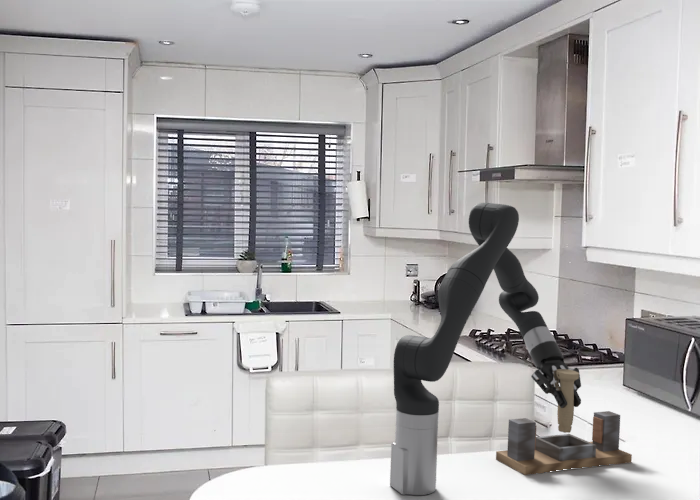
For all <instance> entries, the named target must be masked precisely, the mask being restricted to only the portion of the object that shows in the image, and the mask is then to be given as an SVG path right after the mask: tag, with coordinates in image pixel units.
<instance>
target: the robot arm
mask: <svg viewBox="0 0 700 500" xmlns="http://www.w3.org/2000/svg"><path fill="white" fill-rule="evenodd" d="M519 222H520V215H519V212H518V209H516V207H514V206H512V205H508V204H502V203H501V204H500V203H492V202H477V203H476V204H475V205H473V206H472V208H471V210H470V213H469V215H468V228H469V231H470V233H471V236H472V237H473V239H474V240H475V242H476V244H477V245H478V247H477V248H475V249H473V250H471V251H470V252H468V253H467V254H465V255H463V256H462V257H460V258H459V259H457V260H456V261H455V262H454V263H453V264H452V265H450V267H449V268H448V270H447V272H446V274H445V276H444V277H443V279H442V281H441V283H440V285H439V287H438V290H437V291H438V293H437V299H438V304H439V311H440V318H441V319H440V322H439V325H438V328H437V329H436V331H435V333H434V335H433V336H432V337H425V336H419V335H413V334H412V335H410V334H408V335H404V336H402V337H401V338H400V339H399V340H398V341H397V343H396V346H395V349H394V354H393V395H394V400H395V406H396V409H395V411H396V412H395V431H394V432H395V433H394V434H395V436H394V437H395V438H394V442H391V446H390V473H389V474H390V475H389V476H390V477H389V486H390V487H392V489H394V490H395V491H397V492H398V493H400V494H401V495H412V496H424V495H430V494H432V493H434V492H435V491H436V490H437V489H436V488H437V465H438V464H437V463H438V461H437V460H438V439H439V436H438V435H439V411H440V402H439V401H440V400H439V398H438V397H437V396H436V395H435V394H433V393H432V392H430V391H429V390H428V389H427V388H426V387H425V385H424V384H423V381H424V382H429V383H431V382H432V383H433V382H438V381H439V380H441V378H443V376H444V375H445V373H446V372H447V369H448V368H449V365H450V364H451V361H452V358H453V356H454V353H455V350H456V348H457V345H458V342H459V341H460V338H461V335H462V332H463V330H464V328H465V326H466V323H467V322H468V320H469V318H470V316H471V314H472V311H473V310H474V309H475V306H476V305H477V303H478V301H479V299H480V297H481V295H482V293H483V292H484V288H485V287H486V284H487V282H488V280H489V278H490V277H491V275H492V272H493V271H494V273H495V276H496V278H497V282H498V284H499V286H500V288H501V289H502V292H501V293H499V295H498V304H499V307H500V308H501V310H502V311H504V314H506V315H507V316H508V317H509V318H510V319H511V320H512V322H513V323H514V324H515V325H516V328H517V329H518V330H519V332H520V335H521V337H522V339H523V341H524V345H525V347H526V350H527V352H528V354H529V356H530V358H531V360H532V362H533V364H534V366H535V368H536V369H535V371H534V372H533V373H532V374H531V375H530V376H531V378H532V380H533V381H534V382H535V383H536V384H537V385H538V387H540V389H541V390H542V392H543V393H545V394H546V395H548V394H551V395H552V396H553V397H554V399H555V402H556V403H557V406H558V405H559V406H560V407H561V408H565V407H566V405H567V401H566V399H565V397H564V395H563V393H562V391H560V379H559V378H558V377H557V375H556V370H557V369H569V370H573V371H576V372H578V373H579V378H578V379H577V380H575V381H574V408H578V407H579V406H580V405H581V403H582V399H581V397H580V394H579V393H578V390H580V388H581V387H582V382H581V375H580V370H579V368H578V367H574V369H573V368H570V367H569V366H568V364H567V363H565V358H564V354H563V352H562V351H561V349H560V346H559V345H558V343H557V340H556V338H555V337H554V335H553V334H552V332H551V330H550V329H549V327H548V326H547V323H546V321H545V319H544V317H543V315H542V314H541V313H540V312H539V311H536V310H529V309H531V308H533V307H535V306H536V305H537V304H538V302H539V299H540V298H539V294H538V291H537V288H535V286H534V285H533V284H532V283H531V282H530V281H529V279H527V277H526V276H525V273H524V270H523V266H522V264H521V262H520V260H519V259H518V257H517V256H516V255H515V253H514V252H512V251H511V250H510V249H509V248H508V246H509V245H510V244H511V242H512V240H513V238H514V237H515V235H516V233H517V230H518V227H519ZM527 310H529V311H527Z"/></svg>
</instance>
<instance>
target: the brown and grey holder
mask: <svg viewBox="0 0 700 500" xmlns="http://www.w3.org/2000/svg"><path fill="white" fill-rule="evenodd" d="M536 423H537V422H536V421H534V420H531V419H529V418H526V417H523V418H521V417H520V418H511V419H508V429H507V430H508V431H507V433H508V434H507V450H498V451H497V450H496V452H495V460H496V461H499V462H500V463H502V464H503V465H505V466H507V467H509V468H511V469H513V470H515V471H517V472H518V473H520V474H522V475H524V476H529V475H537V474H536V473H538V474H545V473H544V472H547V473H551V472H550V471H555V472H557V471H556V470H563V469H571V468H581V469H583V468H582V467H589V468H593V467H592V466H597V467H600V466H599V465H606V466H610V465H609V464H614V465H621V464H627V463H628V464H630V463H632V459H633V457H632V456H633V455H632V454H631V453H630V452H626V451H625V450H622V449H620V448H619V447H620V432H621V431H620V429H621V428H620V427H621V414H619V413H616V412H614V411H609V410H608V411H594V412H593V418H592V433H591V435H592V437H591V438H592V439H591V441H588V440H585V439H584V438H583V439H582V438H580V437H578V436H575V435H573V434H570V433H564V434H554V435H544V436H542V435H541V436H537V424H536Z"/></svg>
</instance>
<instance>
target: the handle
mask: <svg viewBox="0 0 700 500" xmlns="http://www.w3.org/2000/svg"><path fill="white" fill-rule="evenodd" d="M579 374H580V372H579V373H578V372H576V371H573V370H569V369H557V370H556V375H557V377H558V378H559V379H560V384H559V386H560V391H562V393H563V395H564V397H565V399H566V401H567V405H566V407H565V408H561V407H560V406H559V405H558V404H557V424H558V426H557V429H558V431H559V432H561V433H564V434H570V433H571V431H572V426H573V422H574V412H575V407H574V381H575V380H577V379H578V378H579Z"/></svg>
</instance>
